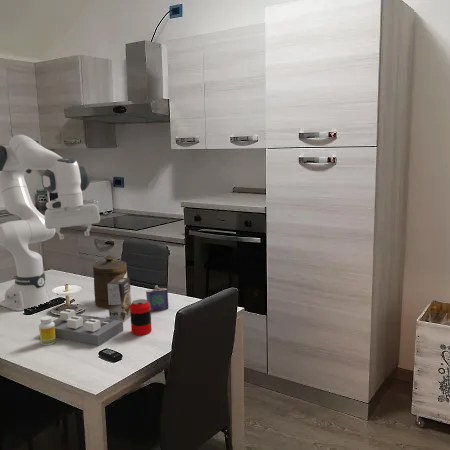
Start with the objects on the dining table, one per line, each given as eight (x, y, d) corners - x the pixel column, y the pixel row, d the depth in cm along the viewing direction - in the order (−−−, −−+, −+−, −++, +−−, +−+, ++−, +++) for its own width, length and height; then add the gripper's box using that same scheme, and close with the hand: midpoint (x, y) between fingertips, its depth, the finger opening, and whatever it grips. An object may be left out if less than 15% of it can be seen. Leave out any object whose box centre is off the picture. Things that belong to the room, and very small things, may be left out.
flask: (147, 311, 208) (146, 287, 206) (146, 309, 210) (145, 285, 209) (168, 309, 210) (167, 285, 208) (168, 307, 213) (166, 283, 211)
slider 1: (60, 319, 189) (59, 311, 188) (67, 316, 192) (66, 308, 192) (68, 321, 187) (67, 312, 186) (75, 317, 190) (74, 309, 190)
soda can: (131, 336, 182) (129, 305, 180) (131, 328, 190) (129, 299, 187) (152, 334, 184) (150, 304, 182) (151, 326, 191) (149, 297, 189)
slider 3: (84, 330, 178) (84, 321, 177) (91, 326, 181) (91, 317, 181) (93, 331, 176) (92, 323, 175) (100, 327, 180) (100, 319, 179)
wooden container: (132, 305, 217) (130, 257, 213) (99, 311, 210) (95, 261, 206) (123, 295, 230) (121, 250, 226) (92, 301, 223) (88, 254, 219)
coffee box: (124, 322, 196) (121, 284, 193) (109, 321, 197) (106, 283, 195) (132, 314, 205) (130, 277, 202) (118, 313, 206) (116, 277, 203)
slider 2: (67, 327, 181) (66, 318, 180) (74, 323, 184) (74, 315, 184) (76, 328, 179) (75, 320, 179) (83, 324, 183) (82, 316, 182)
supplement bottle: (38, 342, 179) (35, 318, 177) (52, 338, 182) (49, 314, 181) (44, 347, 175) (42, 321, 173) (58, 342, 179) (56, 317, 177)
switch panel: (31, 333, 187) (30, 323, 186) (59, 320, 201) (58, 310, 200) (98, 346, 174) (97, 335, 173) (123, 330, 188) (122, 320, 187)
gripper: (96, 198, 192) (99, 233, 194) (41, 203, 182) (45, 240, 184) (100, 199, 186) (103, 235, 188) (44, 205, 176) (48, 242, 178)
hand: (74, 237), depth 186 cm, fingers open, 8 cm apart
